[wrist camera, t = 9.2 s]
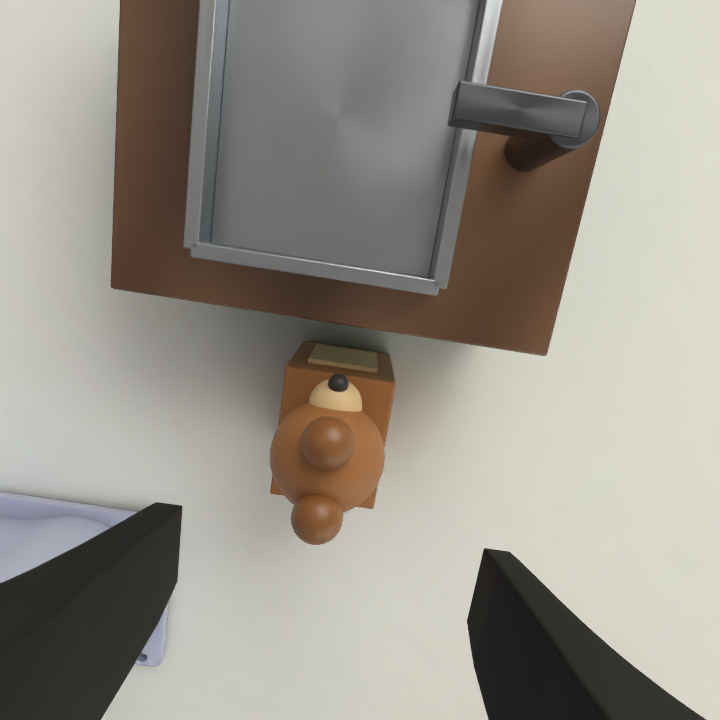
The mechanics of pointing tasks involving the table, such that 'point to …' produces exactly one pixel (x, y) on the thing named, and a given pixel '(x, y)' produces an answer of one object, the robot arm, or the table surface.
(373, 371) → the toy bear
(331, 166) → the toy sink
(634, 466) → the table surface
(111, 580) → the robot arm
